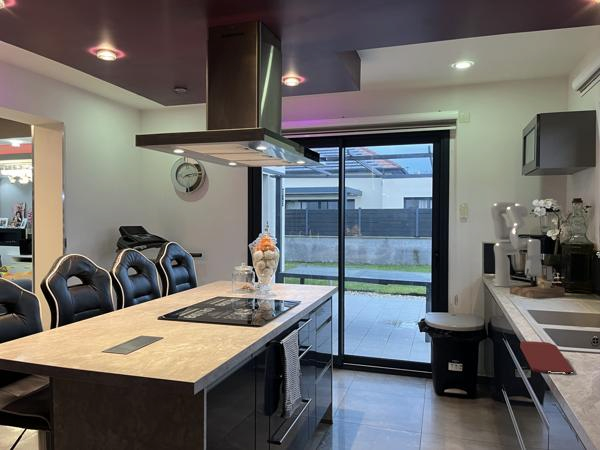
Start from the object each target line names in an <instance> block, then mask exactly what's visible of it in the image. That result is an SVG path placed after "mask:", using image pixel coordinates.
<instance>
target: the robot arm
mask: <svg viewBox="0 0 600 450" xmlns="http://www.w3.org/2000/svg"><path fill="white" fill-rule="evenodd" d="M490 213H491V214H490V215H491V218H492V221H493V231H494V237H495V239H496V240H501V241H497V242H495V243H494V244H493V253H494V261H495V264H494V265H495V267H494V268H495V269H494V271H495V272H494V273H495V277H494V278H493V279H492V282H493V283H492V285H493V286H496V287H501V288H502V287H504V288H505V287H509V288H510V286H513V284H512V283H510V282H511V278H510V276H511V275H510V274H511V273H510V271H511V270H510V269H511V267H510V265H511V263H510V258H509V257H508V256H509V255H510V256H511V255H512V256H513V255H517V254H519V252H520V251H523V250H525V251H527V260H526V261H525V266H524V275H525V276H526V278H527V279H529V280H530V285H531V286H532V287H537V280H538V278H539V277H541V274H542V266H543V264H542V260H541V257H542V256H541V240H540V239H535V238H528V237H527V238H525V237H523V238H521V237H519V232H518V231H519V230H522V229H523V228H524V227H525V226H526V223H525V221H524V218H526V217H528V215H529V210H528V208H527V207H526V206H525V205H523V204H522V203H521V204H520V203H519V202H516V201H513V202H512V201H499V202H495V203H493V204H492V205H491V207H490ZM504 215H506V216H507V217H506V218H507V219H508V221H509V223H510V226H508V225H507V220H506V218H505V216H504ZM502 240H503V241H502Z"/></svg>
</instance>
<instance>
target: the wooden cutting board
mask: <svg viewBox="0 0 600 450" xmlns="http://www.w3.org/2000/svg"><path fill="white" fill-rule="evenodd" d="M509 294H510V295H514V296H519V297H523V298H527V297H528V298H529V299H532V298H533V299H540V298H541V299H543V298H552V297H554V296H555V297H563V296H564V297H565V296H566V295H565V287H563V286H557V285H553V286H550V288H539V287H538V284H537V287H532V286H531V284H521V285H519V284H518V285H512V286H510V287H509Z"/></svg>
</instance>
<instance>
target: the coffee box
mask: <svg viewBox="0 0 600 450" xmlns="http://www.w3.org/2000/svg"><path fill="white" fill-rule="evenodd" d="M553 270H554V267H553V266H549V265H542V274H541V277H539V278H538V280H537V284H538V281H549V282H551V286H552V279H553V280H554V278H553V277H554V271H553Z"/></svg>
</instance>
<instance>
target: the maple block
mask: <svg viewBox="0 0 600 450" xmlns="http://www.w3.org/2000/svg"><path fill="white" fill-rule="evenodd" d="M550 286H551V282H549V281H538V287H539V288H550Z"/></svg>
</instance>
